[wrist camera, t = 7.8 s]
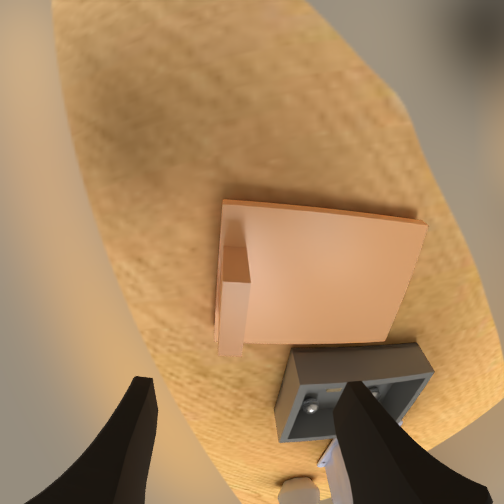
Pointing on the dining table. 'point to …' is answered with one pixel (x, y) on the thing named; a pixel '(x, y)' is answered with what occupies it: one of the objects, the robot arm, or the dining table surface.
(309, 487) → the salt shaker
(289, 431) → the tub
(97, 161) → the dining table surface
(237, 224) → the lid
